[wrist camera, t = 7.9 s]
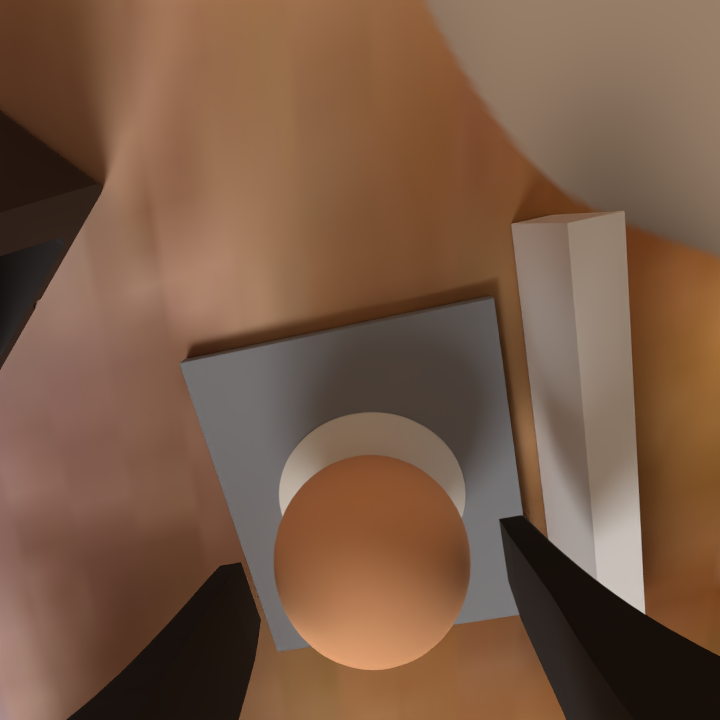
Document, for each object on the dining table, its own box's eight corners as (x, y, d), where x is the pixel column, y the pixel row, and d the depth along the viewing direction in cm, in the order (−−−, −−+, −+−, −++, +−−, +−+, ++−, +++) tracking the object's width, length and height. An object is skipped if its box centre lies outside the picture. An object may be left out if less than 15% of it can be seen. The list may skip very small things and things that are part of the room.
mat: (490, 295, 14) (494, 298, 14) (531, 601, 17) (536, 614, 17) (185, 359, 15) (178, 364, 14) (280, 640, 18) (277, 653, 18)
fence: (551, 214, 13) (624, 210, 10) (590, 633, 18) (651, 745, 14) (511, 223, 14) (567, 222, 10) (559, 638, 18) (611, 750, 14)
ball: (438, 410, 15) (474, 514, 9) (463, 551, 16) (507, 710, 11) (274, 440, 15) (220, 556, 10) (313, 575, 17) (285, 737, 11)
